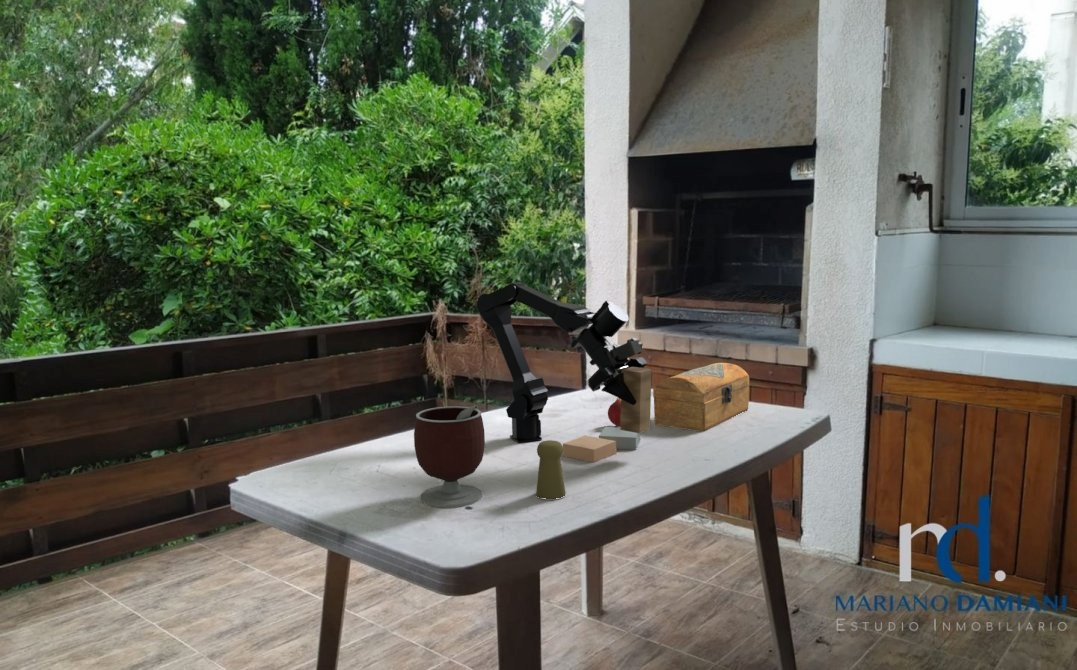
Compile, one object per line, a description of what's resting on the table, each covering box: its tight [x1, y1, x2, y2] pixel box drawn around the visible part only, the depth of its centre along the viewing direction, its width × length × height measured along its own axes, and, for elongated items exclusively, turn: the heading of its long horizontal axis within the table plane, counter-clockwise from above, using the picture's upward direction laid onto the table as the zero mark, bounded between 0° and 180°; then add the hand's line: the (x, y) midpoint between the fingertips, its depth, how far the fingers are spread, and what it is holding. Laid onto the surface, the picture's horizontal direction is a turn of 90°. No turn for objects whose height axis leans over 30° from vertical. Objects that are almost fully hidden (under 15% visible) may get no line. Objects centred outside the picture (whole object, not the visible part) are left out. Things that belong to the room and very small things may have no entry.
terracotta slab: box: [562, 435, 617, 463], centre depth 185 cm, size 9×9×3 cm
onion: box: [607, 397, 621, 427], centre depth 210 cm, size 6×6×8 cm
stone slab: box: [598, 426, 642, 451], centre depth 193 cm, size 9×9×3 cm
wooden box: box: [652, 362, 750, 433], centre depth 219 cm, size 30×16×14 cm, turn 141°
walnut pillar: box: [620, 367, 652, 433], centre depth 180 cm, size 5×5×14 cm
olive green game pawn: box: [535, 439, 567, 499], centre depth 156 cm, size 6×6×11 cm
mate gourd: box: [413, 404, 486, 509], centre depth 155 cm, size 16×14×20 cm
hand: (640, 401), depth 179 cm, fingers closed on walnut pillar, 5 cm apart
